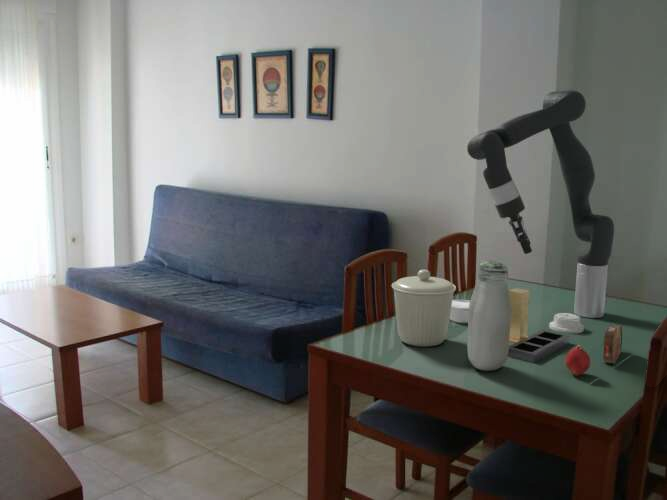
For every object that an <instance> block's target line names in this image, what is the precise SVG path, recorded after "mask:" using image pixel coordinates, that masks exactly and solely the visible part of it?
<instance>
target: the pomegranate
mask: <svg viewBox="0 0 667 500" xmlns="http://www.w3.org/2000/svg"><path fill="white" fill-rule="evenodd" d="M564 363H565V367H566V369H568V371H569V372H570V373H572V374H573V375H574V376H576V377H579V376H581V375H583V374H584V373H585V372H587V371H588V370H589V369H590V367H591V358H590V356H589V354H588V353H587V352H586V350H584V348H582V345H580V344H578V345H576V347H575V348H572V349H570V350H569V351H568V352H567V353H566V356H565V359H564Z"/></svg>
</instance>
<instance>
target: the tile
mask: <svg viewBox="0 0 667 500" xmlns="http://www.w3.org/2000/svg"><path fill="white" fill-rule="evenodd" d="M529 336H530V335H529ZM529 336H528V335H527V337H529ZM527 337H526V338H527ZM524 339H525V338H524ZM522 340H523V339H522ZM510 341H511V342H515V343H516V342H519V341H518V340H514V339H510V338H509V342H510ZM520 341H521V340H520Z"/></svg>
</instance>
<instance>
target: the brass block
mask: <svg viewBox="0 0 667 500" xmlns="http://www.w3.org/2000/svg"><path fill="white" fill-rule="evenodd" d="M530 291H531V290H530V289H529V290H527V289H522V288H517V287H514V288H512V289H509V290H508V293H509V298H510V304H511V326H510V335H509V338H510V339H514V340H518V341H520V340H522V339H524V338H526V337H527V336H528V327H529V326H528V324H529V311H530V310H529V309H530V295H531V294H530Z"/></svg>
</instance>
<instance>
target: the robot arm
mask: <svg viewBox="0 0 667 500" xmlns="http://www.w3.org/2000/svg"><path fill="white" fill-rule="evenodd" d="M586 103H587V102H586V98H585V97H584V95H583V94H582V93H581V92H579V91H577V90H572V89H570V90H556V91H550V92H548V93H547V94H546V95H545V96H544V99H543V102H542V108H541V109H538V110H535V111H532V112H529V113H528V112H527V113H523V114H521V115H519V116H516V117H514V118H511V119H510V120H508V121H506V122H505V121H504V122H503V123H502V124H500V125H498V126H496V127H494V128H492V129H489V130H487V131H485V132H482V133H479V134H477V135H475V136H473V137H472V138H471V139H469V141H468V143H467V146H466V148H467V154H468V155H469V157H471V159H473V160H478V161H479V160H480V161H482V160H485V162H486V167H485V169H483V172H482V174H483V179H484V180H485V183H486V185H487V187H488V190H489V193H490V197H491V199H492V202H493V204H494V206H495V209H496V211H497V213H498V216H499V217H500V219H507V218H509V219H510V220H508V224H509V227H510V229H512V233H513V235H514V237H516V240H517V242H518V243H519V245H520V246H521V248H522V251H523V253H524V254H525V255H528V254H530V253H532V252H533V250H532V248H531V241H530V239H529V236H528V233H527V229H526V223H525V221H524V218H523V216H522V215H521V216H520V213H522V212H523V211H524V210H525V209H526V207H525V204H524V202H523V200H522V199H523V198H522V197H521V194H520V192H519V189H518V187H517V185H516V184H515V182H514V179H513V178H512V176H511V173H510V170H509V168H508V166H507V157H506V156H507V155H506V151H505V150H506V149H507V148H510V147H513V146H514V145H517V144H519V143H521V142H523V141H525V140H527V139H528V138H531V137H533V136H535V135H537V134H539V133H542V132H544V131H546V130H549V132H550V135H551V138H552V140H553V143H554V146H555V150H556V153H557V157H558V161H559V165H560V170H561V174H562V177H563V180H564V181H563V182H564V183H565V187H566V191H567V195H568V196H567V197H568V200H569V205H570V210H571V218H572V219H571V220H572V225H573V230H574V234H575V236H576V237H577V239H579V240H580V241H582V242H587V243H590V247H589V250H587V251H584V252H581V253H579V254H578V255H577V266H576V278H575V279H576V280H575V281H576V282H575V289H574V290H575V294H574V306H573V314H575V315H577V316H579V317H583V318H592V319H597V318H599V319H600V318H602V317H604V314H605V304H606V303H605V302H606V291H607V279H608V270H609V269H608V267H609V259H610V257H611V255H612V249H613V243H614V236H615V225H614V221H613V218H611V217H610V216H607V215H602V214H594V213H593V212H592V209H591V204H590V194H591V192H592V190H593V189H592V188H593V186H594V183H595V179H596V174H595V173H596V172H595V169H594V165H593V160H592V156H591V155H590V153H589V151H588V150H587V148H586V147H585V146H584V145H583V144H582V142H581V141H580V139H578V137H577V136H576V135H575V132H574V131H573V129H572V126H571V123H570V122H574V121H576V120H578V119H580V118H581V117H582V116H583V114H584V112H585V110H586Z"/></svg>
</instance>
